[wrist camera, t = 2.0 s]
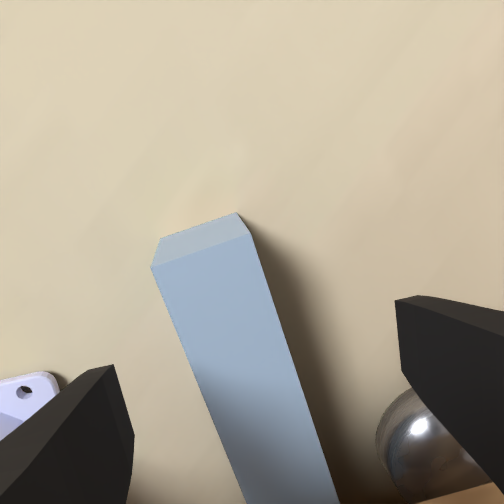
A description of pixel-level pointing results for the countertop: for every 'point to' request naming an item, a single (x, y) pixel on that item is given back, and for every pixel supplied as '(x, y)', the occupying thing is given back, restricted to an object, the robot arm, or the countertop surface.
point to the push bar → (242, 362)
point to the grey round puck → (423, 453)
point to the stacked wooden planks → (471, 496)
